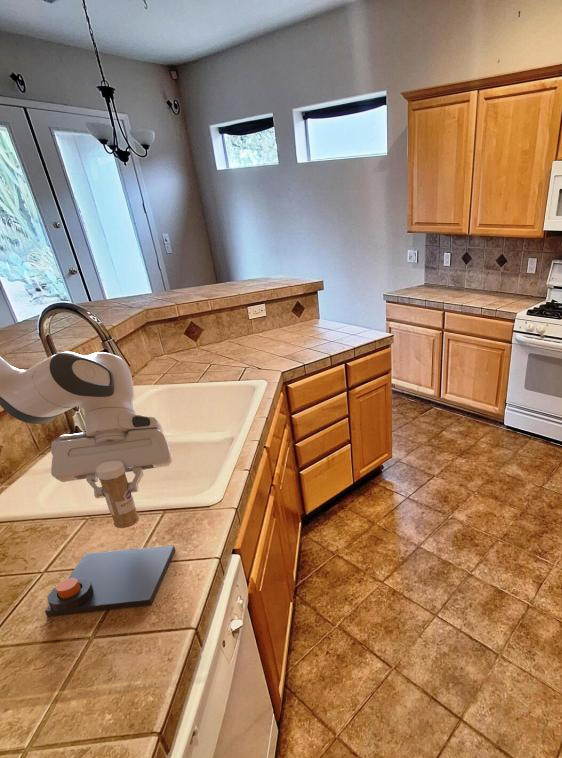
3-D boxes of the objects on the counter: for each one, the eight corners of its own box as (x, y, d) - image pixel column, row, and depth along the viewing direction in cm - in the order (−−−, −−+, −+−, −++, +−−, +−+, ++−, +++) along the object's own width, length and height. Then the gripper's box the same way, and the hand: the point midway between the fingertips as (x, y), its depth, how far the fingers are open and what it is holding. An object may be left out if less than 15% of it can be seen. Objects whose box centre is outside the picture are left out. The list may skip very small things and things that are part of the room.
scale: (45, 619, 70) (39, 606, 69) (87, 559, 83) (82, 546, 82) (150, 607, 73) (146, 594, 71) (175, 550, 85) (172, 538, 84)
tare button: (55, 600, 71) (51, 592, 70) (64, 586, 73) (61, 578, 72) (75, 598, 71) (72, 590, 70) (84, 584, 74) (81, 576, 73)
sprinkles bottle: (136, 527, 86) (118, 470, 80) (110, 530, 85) (90, 472, 79) (142, 514, 90) (126, 458, 84) (118, 516, 89) (100, 460, 83)
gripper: (43, 431, 81) (45, 501, 77) (164, 417, 88) (171, 480, 85) (57, 442, 87) (60, 508, 83) (169, 428, 94) (177, 488, 90)
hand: (117, 494), depth 84 cm, fingers closed on sprinkles bottle, 4 cm apart
